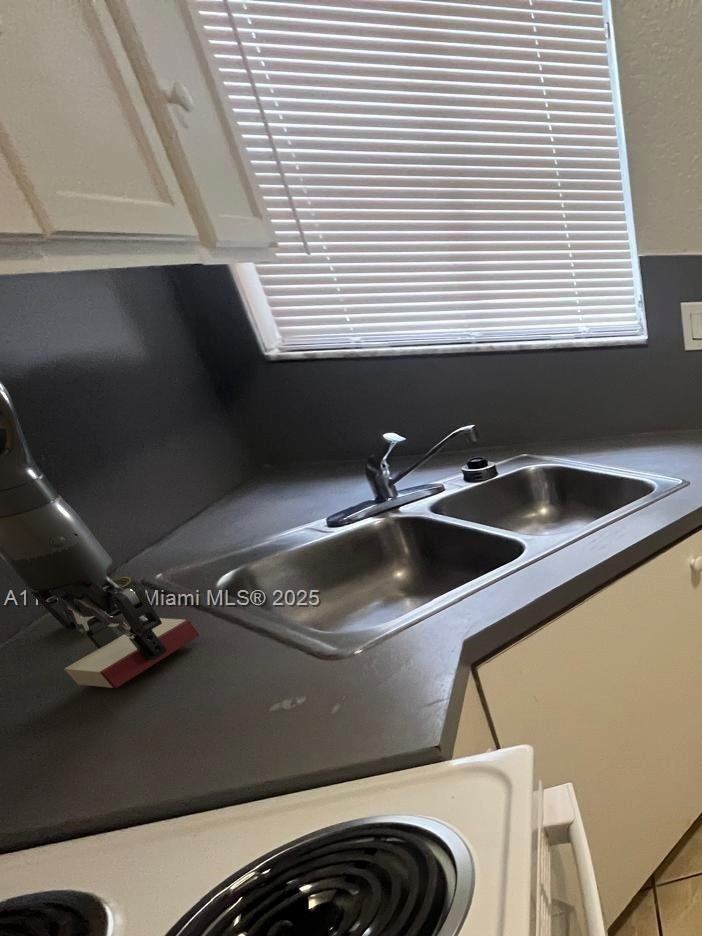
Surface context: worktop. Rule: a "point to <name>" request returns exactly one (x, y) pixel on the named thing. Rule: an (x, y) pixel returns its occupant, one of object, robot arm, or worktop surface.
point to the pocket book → (128, 656)
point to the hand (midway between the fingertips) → (137, 654)
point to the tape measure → (127, 585)
